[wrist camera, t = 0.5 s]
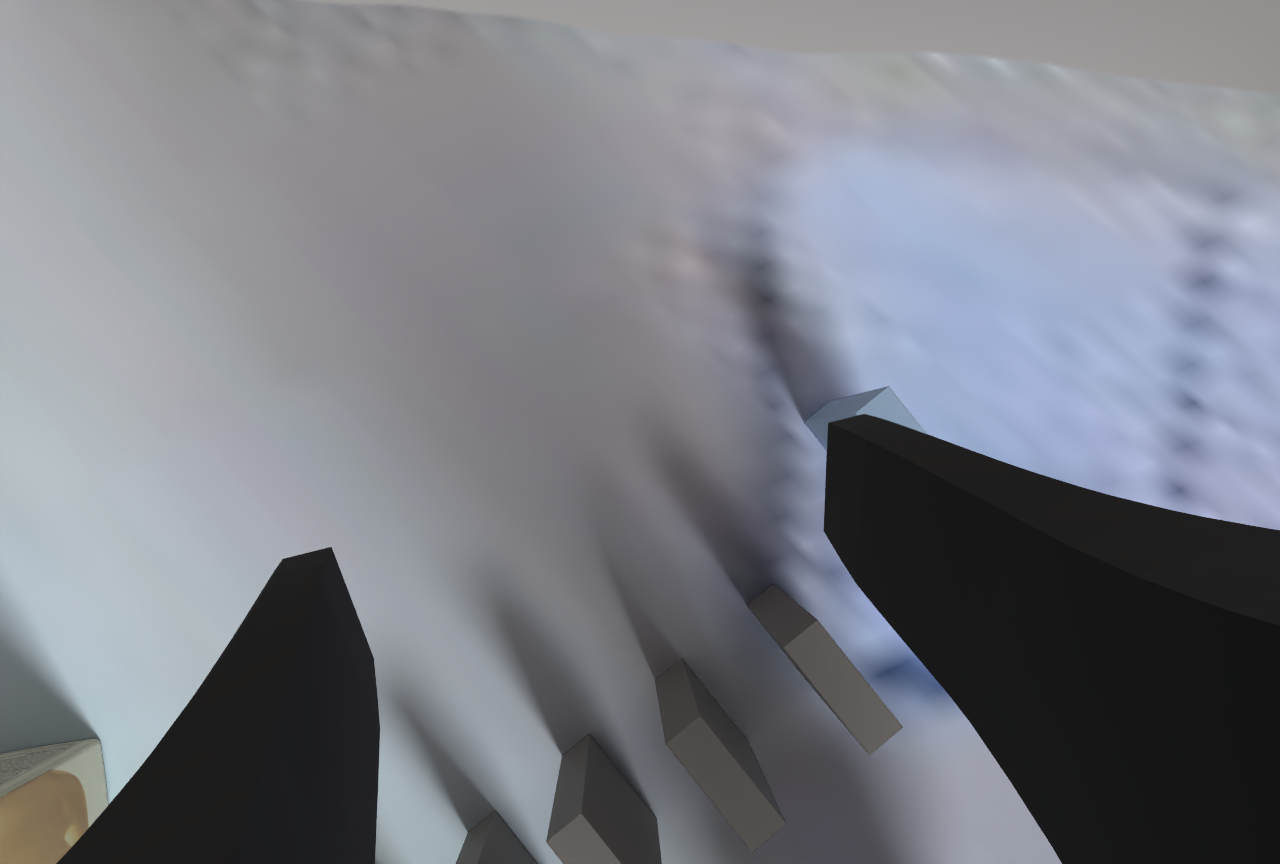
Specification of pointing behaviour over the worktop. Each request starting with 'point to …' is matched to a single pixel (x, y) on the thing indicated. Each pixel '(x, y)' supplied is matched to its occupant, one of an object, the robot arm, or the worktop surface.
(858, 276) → the worktop surface
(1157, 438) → the worktop surface
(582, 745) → the domino
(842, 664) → the domino
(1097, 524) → the robot arm
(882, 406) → the domino
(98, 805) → the skincare box
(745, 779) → the domino
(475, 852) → the domino
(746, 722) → the worktop surface
